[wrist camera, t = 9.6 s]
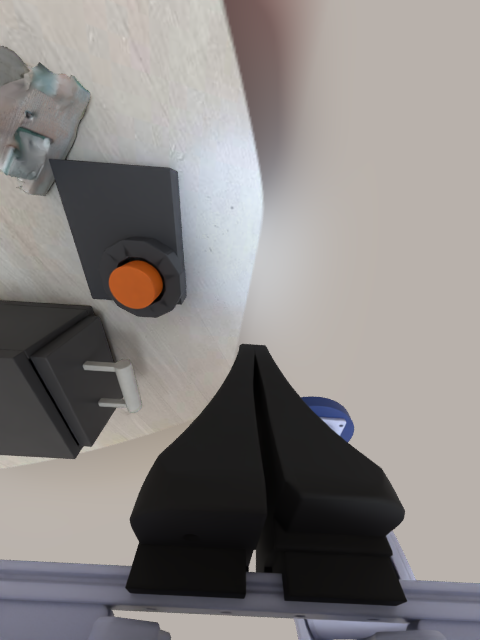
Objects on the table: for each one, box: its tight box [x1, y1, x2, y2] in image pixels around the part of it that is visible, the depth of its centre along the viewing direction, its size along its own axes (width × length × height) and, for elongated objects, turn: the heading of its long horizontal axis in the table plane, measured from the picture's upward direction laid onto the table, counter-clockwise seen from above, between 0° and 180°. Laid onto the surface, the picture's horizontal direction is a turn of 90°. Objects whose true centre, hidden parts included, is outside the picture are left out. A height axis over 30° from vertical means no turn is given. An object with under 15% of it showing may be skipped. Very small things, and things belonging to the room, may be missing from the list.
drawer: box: [28, 316, 142, 447], centre depth 20 cm, size 18×11×6 cm, turn 86°
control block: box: [49, 159, 186, 318], centre depth 16 cm, size 10×8×4 cm
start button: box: [109, 260, 163, 309], centre depth 15 cm, size 3×3×2 cm
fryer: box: [0, 300, 94, 459], centre depth 20 cm, size 15×13×8 cm
